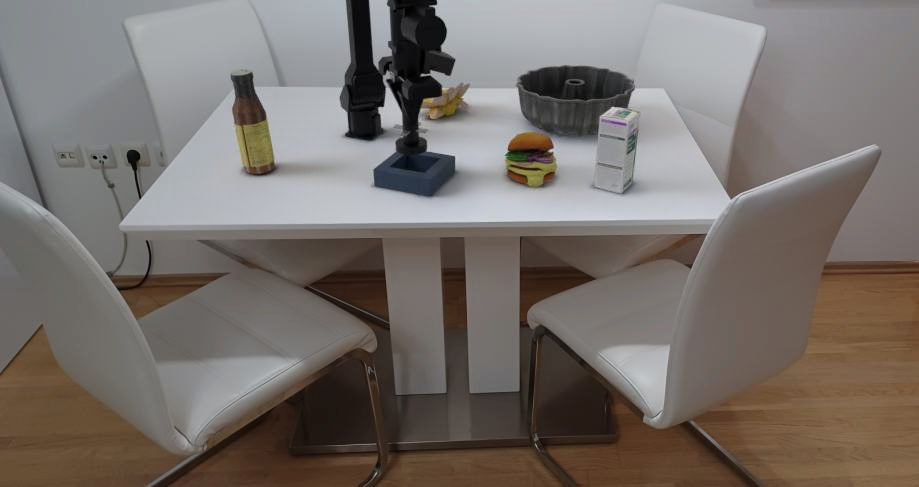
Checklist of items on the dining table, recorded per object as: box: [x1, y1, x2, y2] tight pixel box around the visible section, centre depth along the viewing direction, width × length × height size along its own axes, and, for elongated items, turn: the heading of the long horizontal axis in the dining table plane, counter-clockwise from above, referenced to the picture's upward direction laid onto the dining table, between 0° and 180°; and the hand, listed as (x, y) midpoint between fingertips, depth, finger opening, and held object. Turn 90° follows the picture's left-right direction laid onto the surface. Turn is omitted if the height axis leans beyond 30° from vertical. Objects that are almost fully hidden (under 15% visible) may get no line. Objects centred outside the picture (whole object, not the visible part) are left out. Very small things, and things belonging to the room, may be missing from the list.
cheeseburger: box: [504, 131, 558, 188], centre depth 139 cm, size 10×11×10 cm
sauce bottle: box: [229, 68, 275, 175], centre depth 139 cm, size 6×6×20 cm
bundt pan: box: [515, 64, 636, 137], centre depth 163 cm, size 26×26×10 cm
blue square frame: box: [372, 150, 456, 197], centre depth 139 cm, size 12×12×4 cm
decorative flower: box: [420, 82, 471, 120], centre depth 169 cm, size 15×11×10 cm
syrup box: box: [593, 107, 641, 194], centre depth 133 cm, size 6×6×14 cm
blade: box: [393, 105, 429, 155], centre depth 134 cm, size 7×7×10 cm
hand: (410, 121), depth 134 cm, fingers closed on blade, 3 cm apart
